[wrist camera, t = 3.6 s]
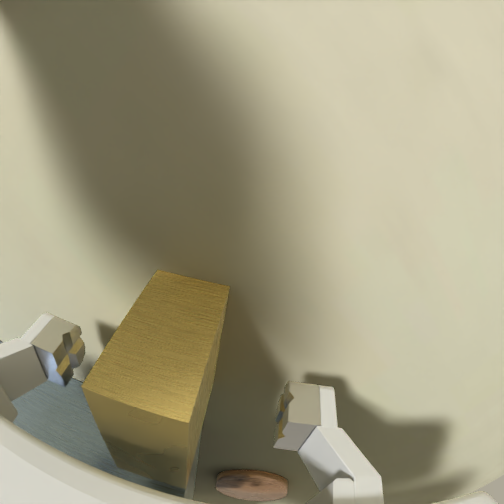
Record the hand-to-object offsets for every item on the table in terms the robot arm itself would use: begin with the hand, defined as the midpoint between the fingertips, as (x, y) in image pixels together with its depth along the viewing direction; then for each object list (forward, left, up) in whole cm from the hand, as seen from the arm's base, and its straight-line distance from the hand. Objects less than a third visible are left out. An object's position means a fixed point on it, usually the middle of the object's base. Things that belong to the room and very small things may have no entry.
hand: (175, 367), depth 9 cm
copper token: (-5, +14, -2) cm, 15 cm away
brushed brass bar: (0, 0, -2) cm, 2 cm away
